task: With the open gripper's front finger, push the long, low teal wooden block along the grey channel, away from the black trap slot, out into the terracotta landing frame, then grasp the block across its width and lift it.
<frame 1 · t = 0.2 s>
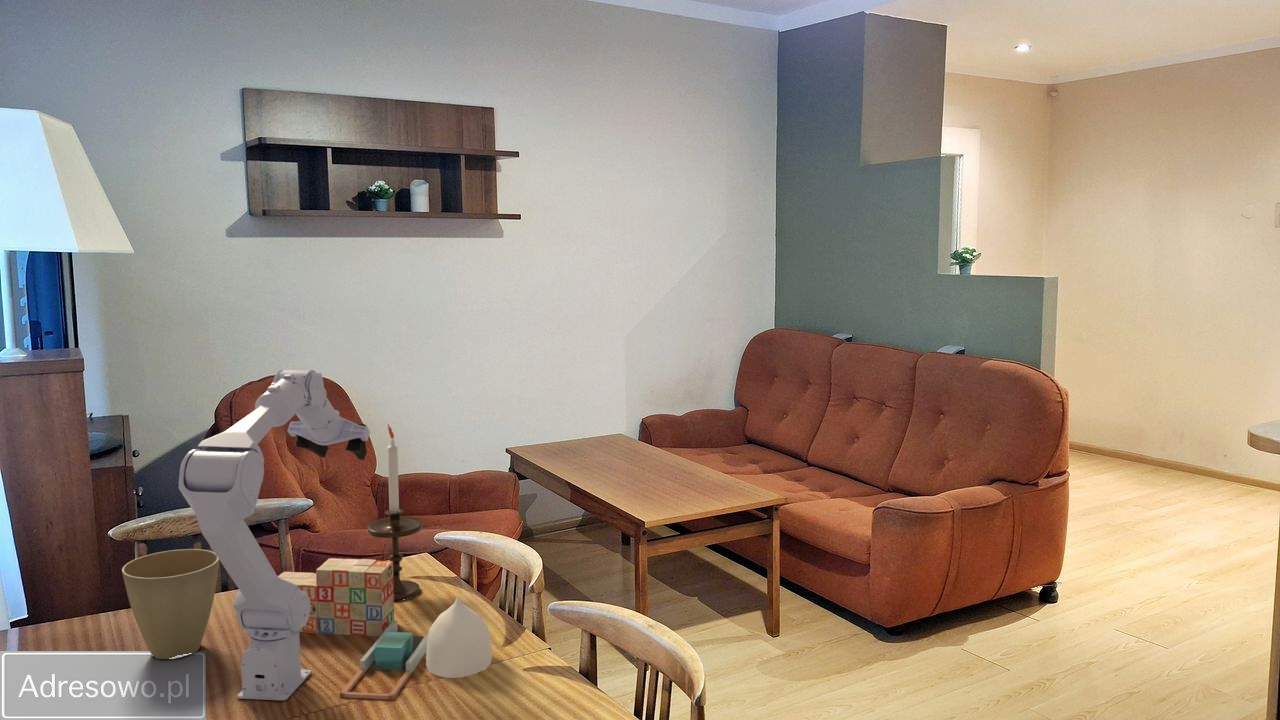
hand: (344, 454, 170), 31 cm above the table, tool tilted 45°, fingers open, 7 cm apart
block: (394, 662, 154), resting in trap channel
plant pot: (177, 651, 158), on the table
candlestick: (396, 593, 184), on the table
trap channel: (374, 688, 145), on the table
stack of blocks: (333, 628, 168), on the table
teardrop: (459, 664, 154), on the table
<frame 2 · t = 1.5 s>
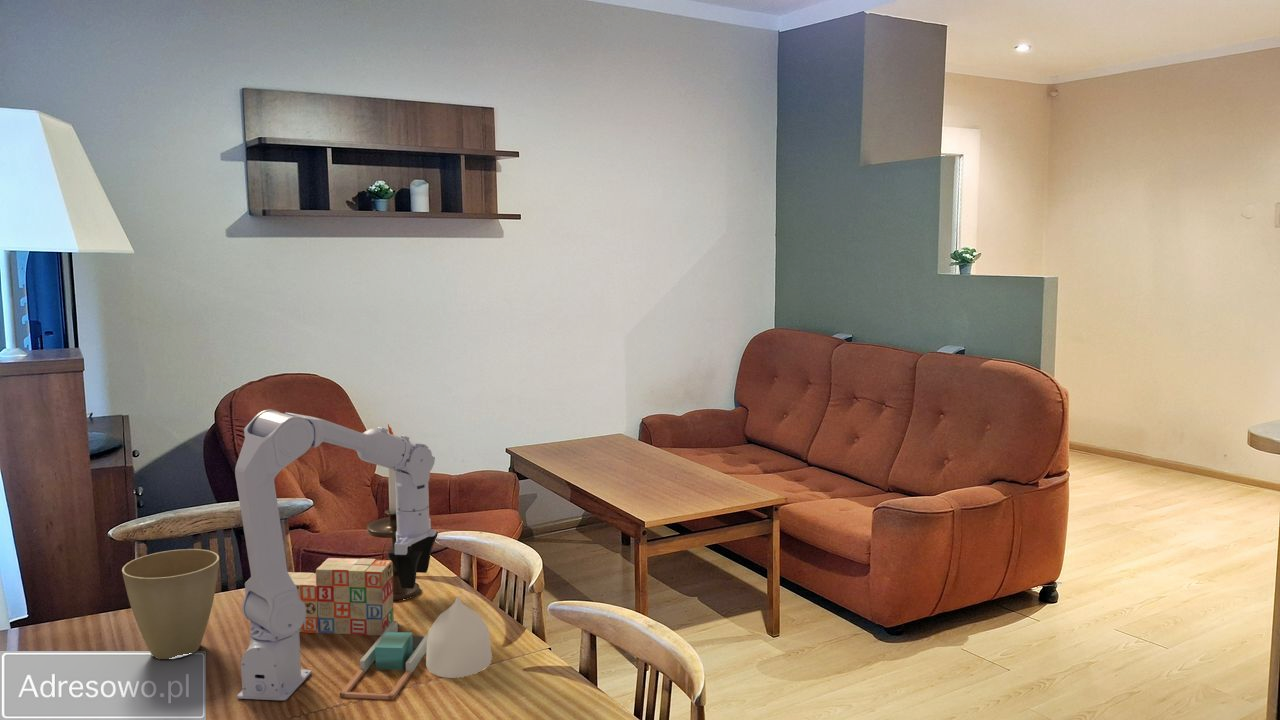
hand: (414, 579, 165), 10 cm above the table, tool pointing down, fingers open, 7 cm apart
nothing on the table moved.
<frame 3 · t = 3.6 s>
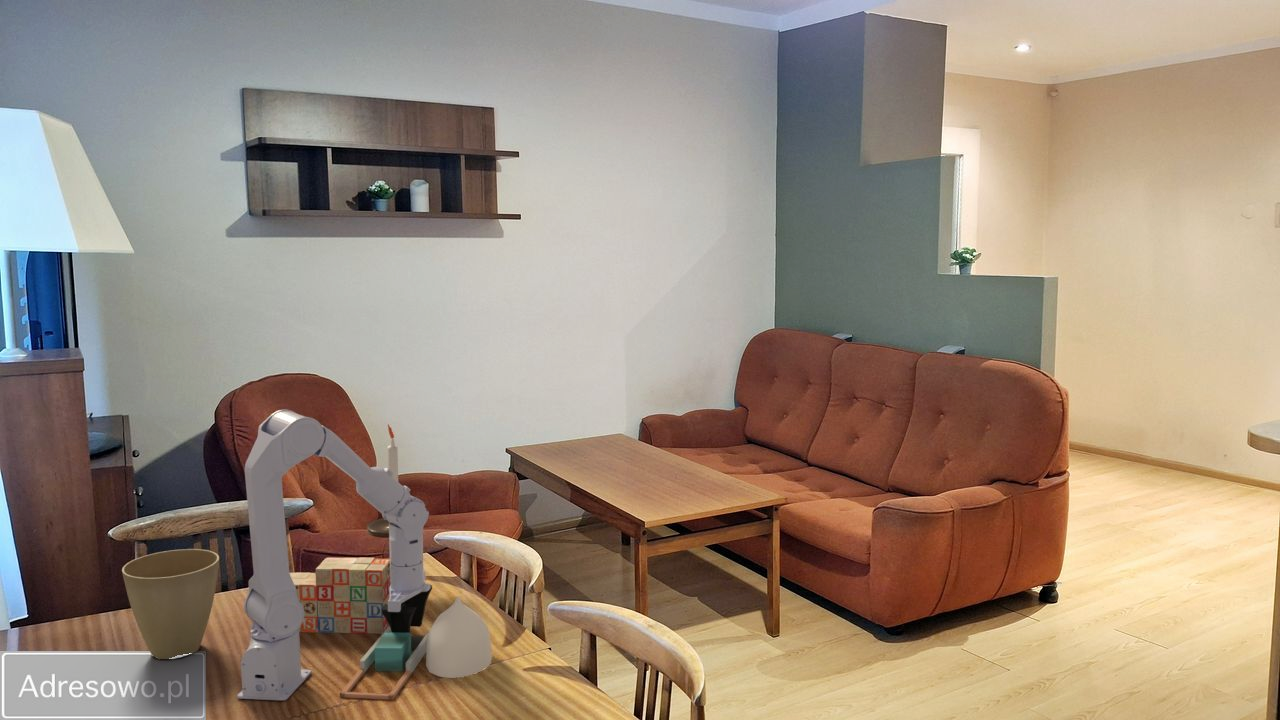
hand: (408, 634, 162), 1 cm above the table, tool pointing down, fingers open, 7 cm apart
block: (393, 662, 154), resting in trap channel, touching gripper
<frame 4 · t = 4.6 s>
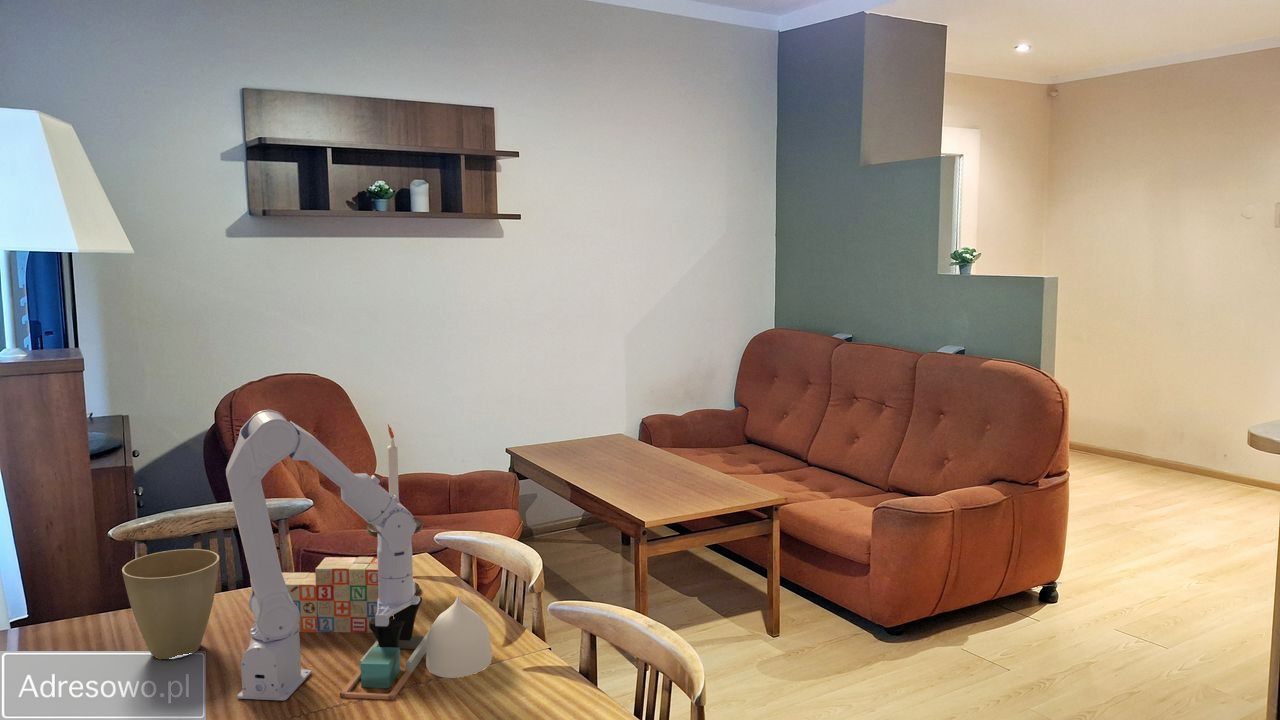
hand: (397, 649, 156), 1 cm above the table, tool pointing down, fingers open, 7 cm apart
block: (381, 678, 148), resting in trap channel, touching gripper
everything else where it was.
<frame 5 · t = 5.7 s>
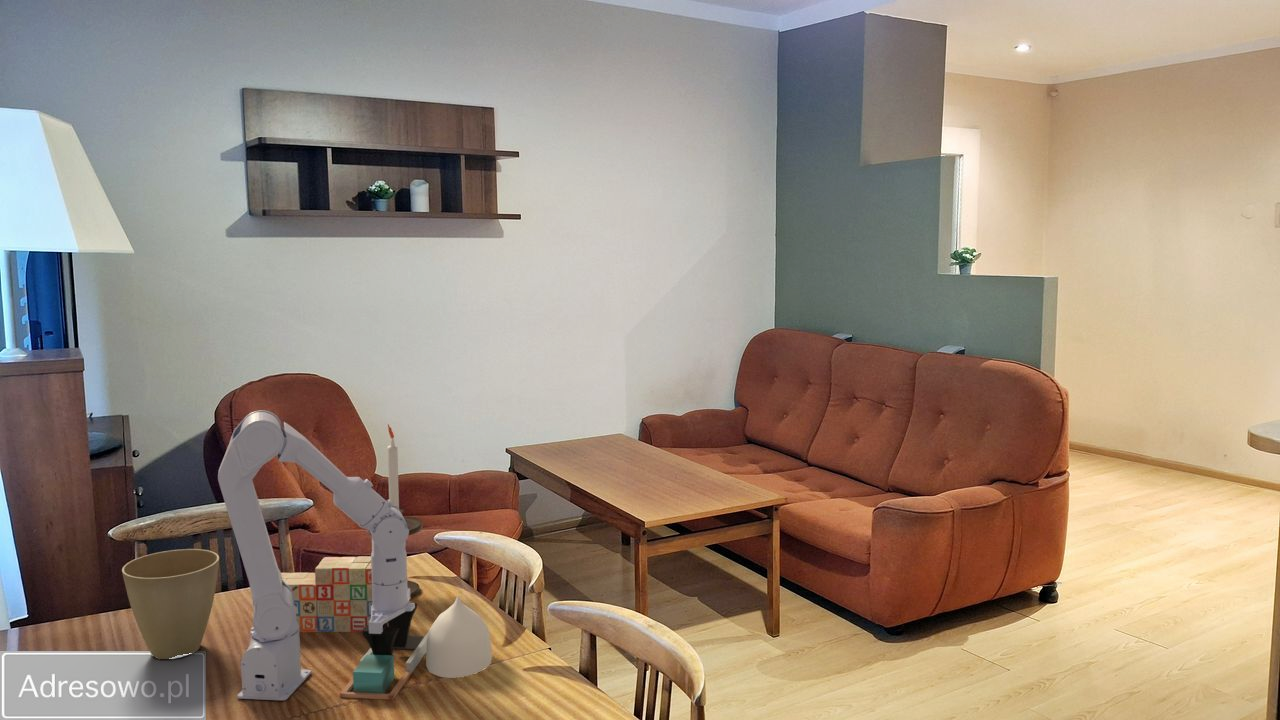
hand: (391, 656, 153), 1 cm above the table, tool pointing down, fingers open, 7 cm apart
block: (374, 687, 145), resting in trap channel, touching gripper
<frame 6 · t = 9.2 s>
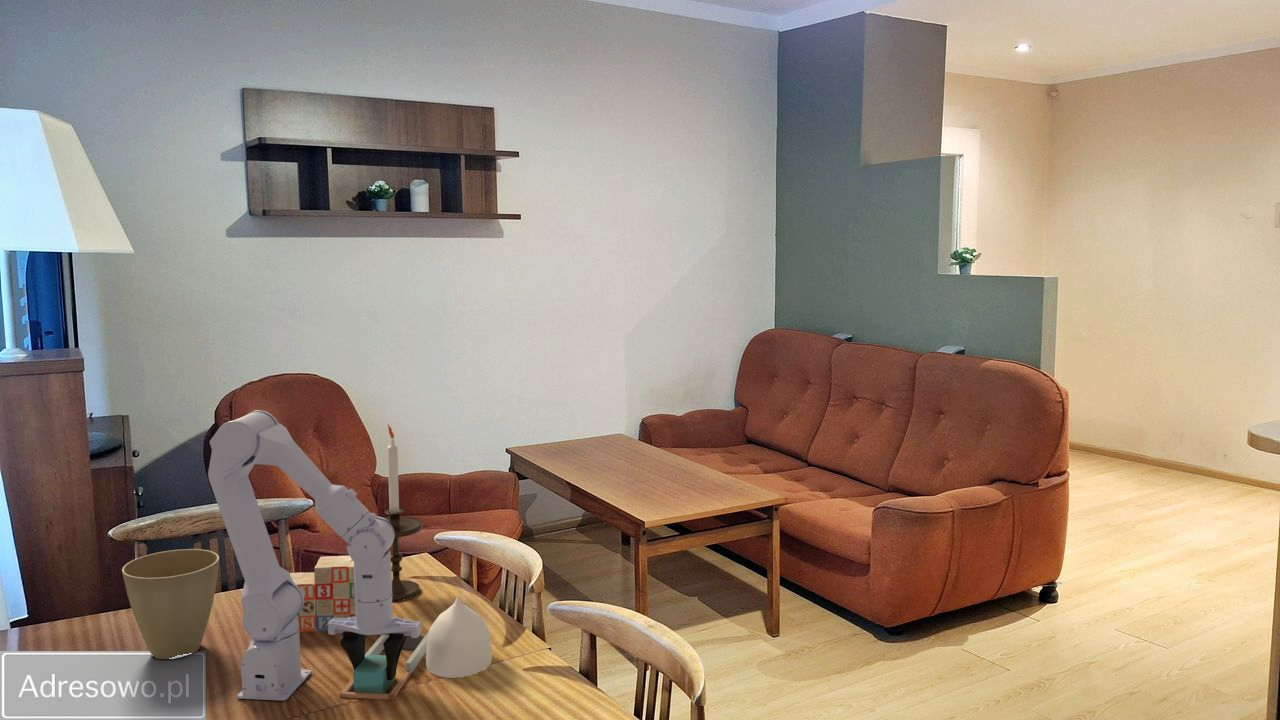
hand: (376, 676, 146), 1 cm above the table, tool pointing down, fingers closed on block, 4 cm apart
block: (375, 687, 145), resting in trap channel, touching gripper
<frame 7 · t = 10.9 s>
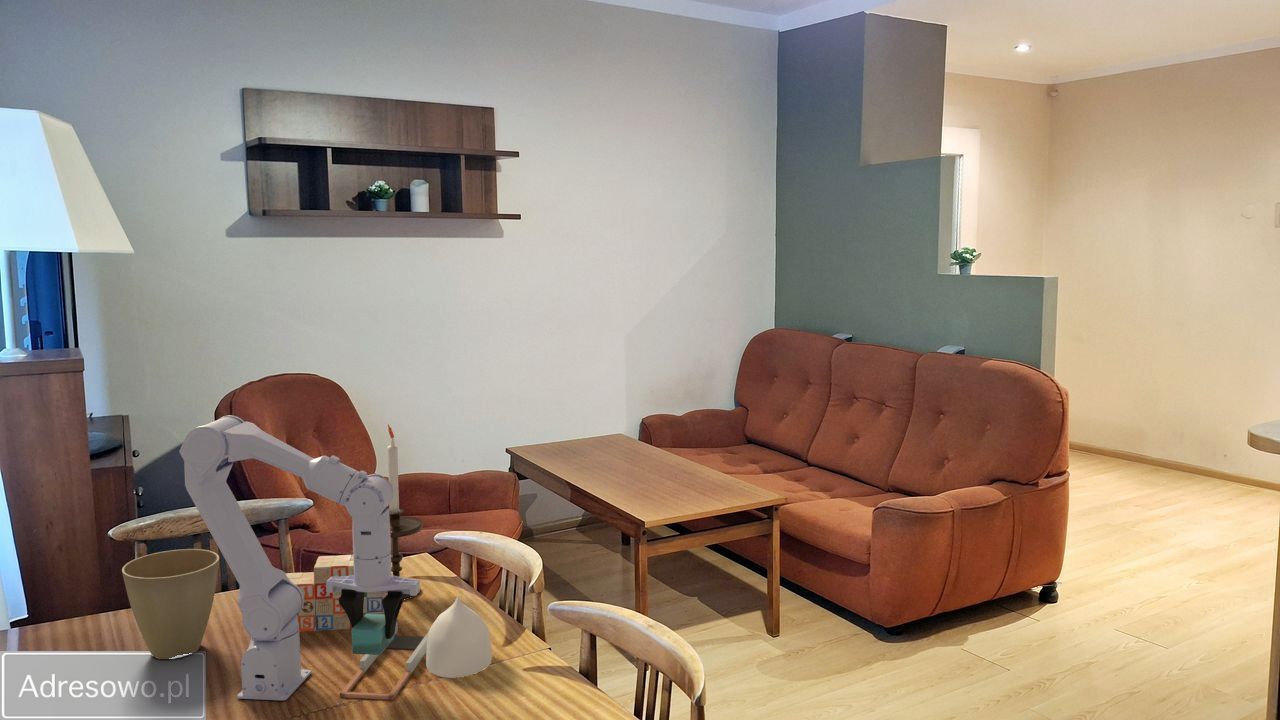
hand: (374, 635, 145), 8 cm above the table, tool pointing down, fingers closed on block, 4 cm apart
block: (373, 645, 145), point 7 cm above the table, touching gripper
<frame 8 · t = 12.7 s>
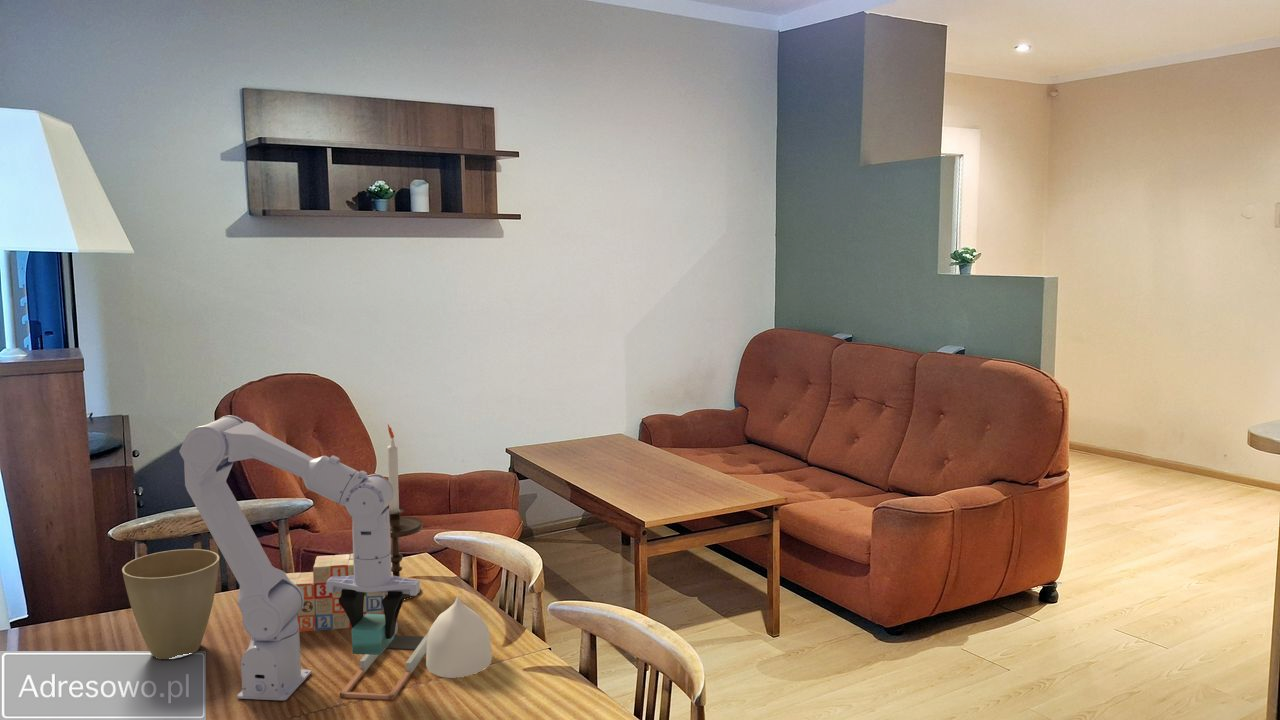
hand: (374, 635, 145), 8 cm above the table, tool pointing down, fingers closed on block, 4 cm apart
block: (373, 645, 145), point 7 cm above the table, touching gripper
at the end: block inside the target area (1.4 cm from its centre), point 7.0 cm above the table; the gripper is holding block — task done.
